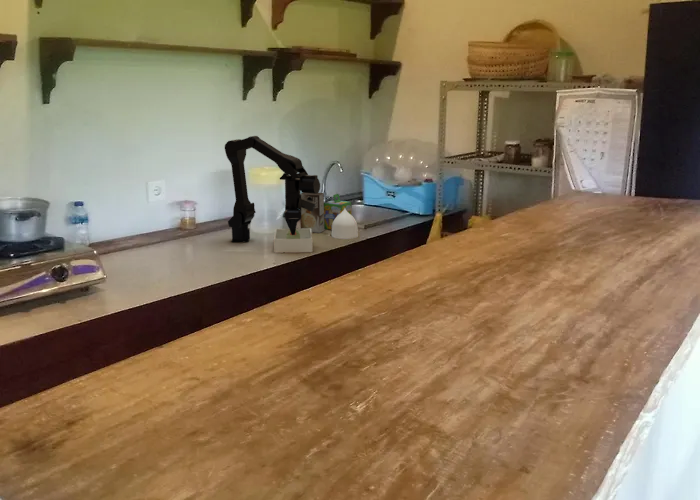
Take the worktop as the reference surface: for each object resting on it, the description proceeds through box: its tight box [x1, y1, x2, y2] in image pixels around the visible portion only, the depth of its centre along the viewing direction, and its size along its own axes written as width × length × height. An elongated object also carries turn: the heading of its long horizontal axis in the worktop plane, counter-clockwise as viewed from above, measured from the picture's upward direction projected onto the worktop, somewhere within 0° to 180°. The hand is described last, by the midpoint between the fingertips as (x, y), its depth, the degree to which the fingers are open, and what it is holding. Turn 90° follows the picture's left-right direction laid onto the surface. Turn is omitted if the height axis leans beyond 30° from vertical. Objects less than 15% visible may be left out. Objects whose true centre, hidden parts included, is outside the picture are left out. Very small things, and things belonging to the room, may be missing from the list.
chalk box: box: [324, 193, 352, 231], centre depth 291 cm, size 9×9×15 cm
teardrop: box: [331, 208, 359, 240], centre depth 278 cm, size 11×11×12 cm
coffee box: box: [299, 192, 326, 234], centre depth 286 cm, size 9×6×16 cm
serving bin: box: [273, 228, 313, 254], centre depth 261 cm, size 14×17×5 cm
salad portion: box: [286, 230, 300, 239], centre depth 260 cm, size 5×5×6 cm
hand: (293, 232), depth 260 cm, fingers open, 9 cm apart
